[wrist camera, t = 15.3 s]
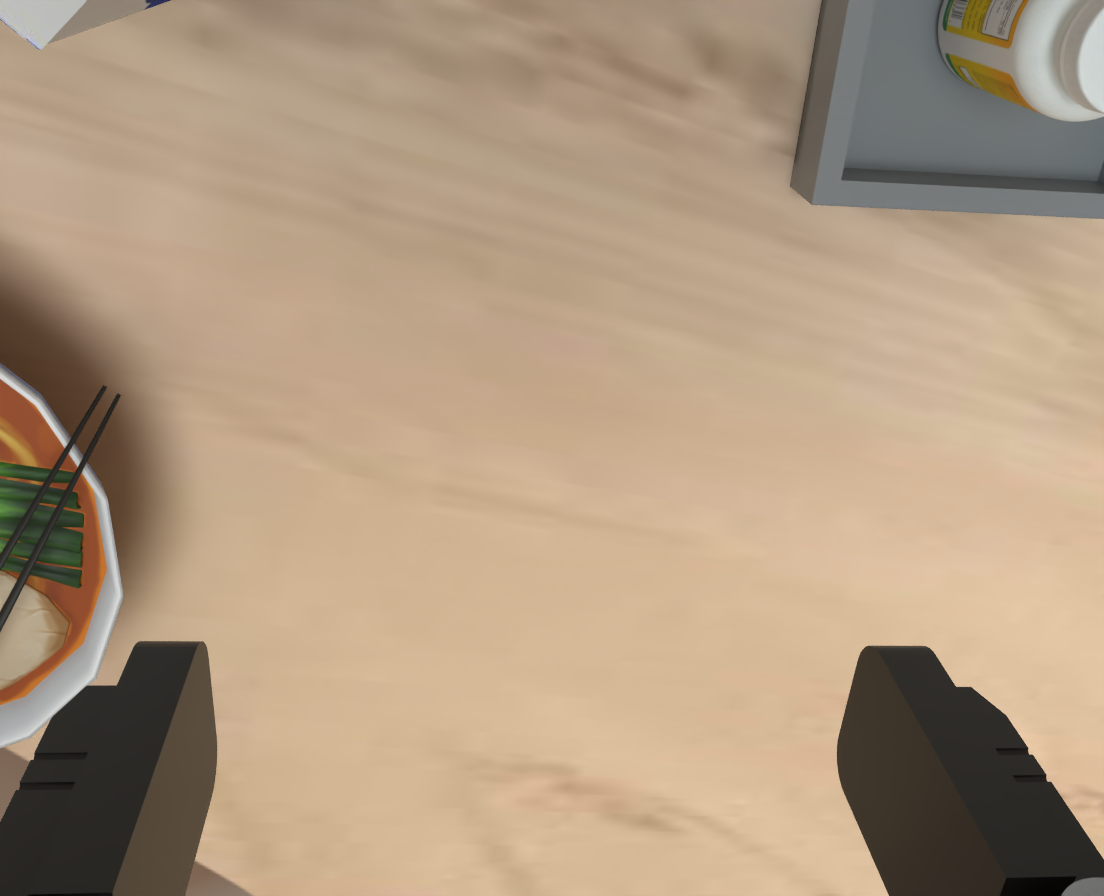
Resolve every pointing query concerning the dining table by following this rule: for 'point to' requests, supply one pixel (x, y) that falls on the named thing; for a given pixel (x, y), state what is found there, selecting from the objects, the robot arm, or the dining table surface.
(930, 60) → the tray
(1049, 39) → the supplement bottle
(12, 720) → the ramen bowl
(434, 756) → the dining table surface
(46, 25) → the milk carton
